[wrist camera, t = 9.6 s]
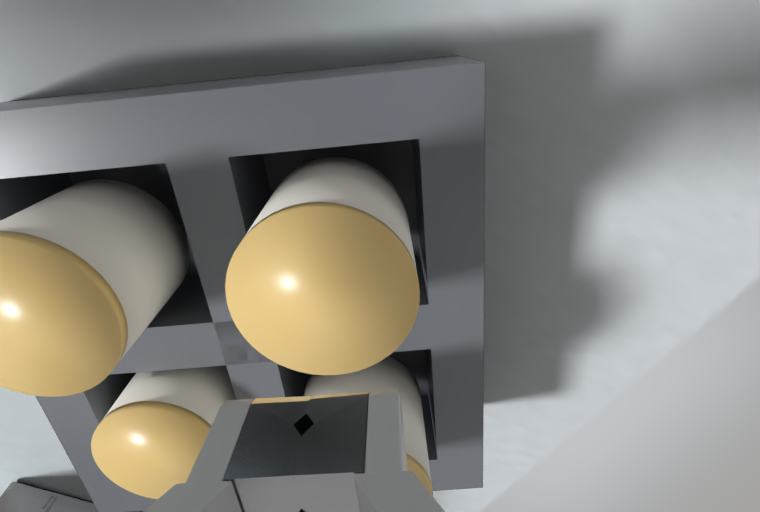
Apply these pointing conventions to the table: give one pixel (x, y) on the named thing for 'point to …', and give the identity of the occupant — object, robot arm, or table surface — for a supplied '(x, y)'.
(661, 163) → the table surface
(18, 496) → the coffee box
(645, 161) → the table surface
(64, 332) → the button
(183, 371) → the button
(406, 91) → the board
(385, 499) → the robot arm
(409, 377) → the button
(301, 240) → the button
